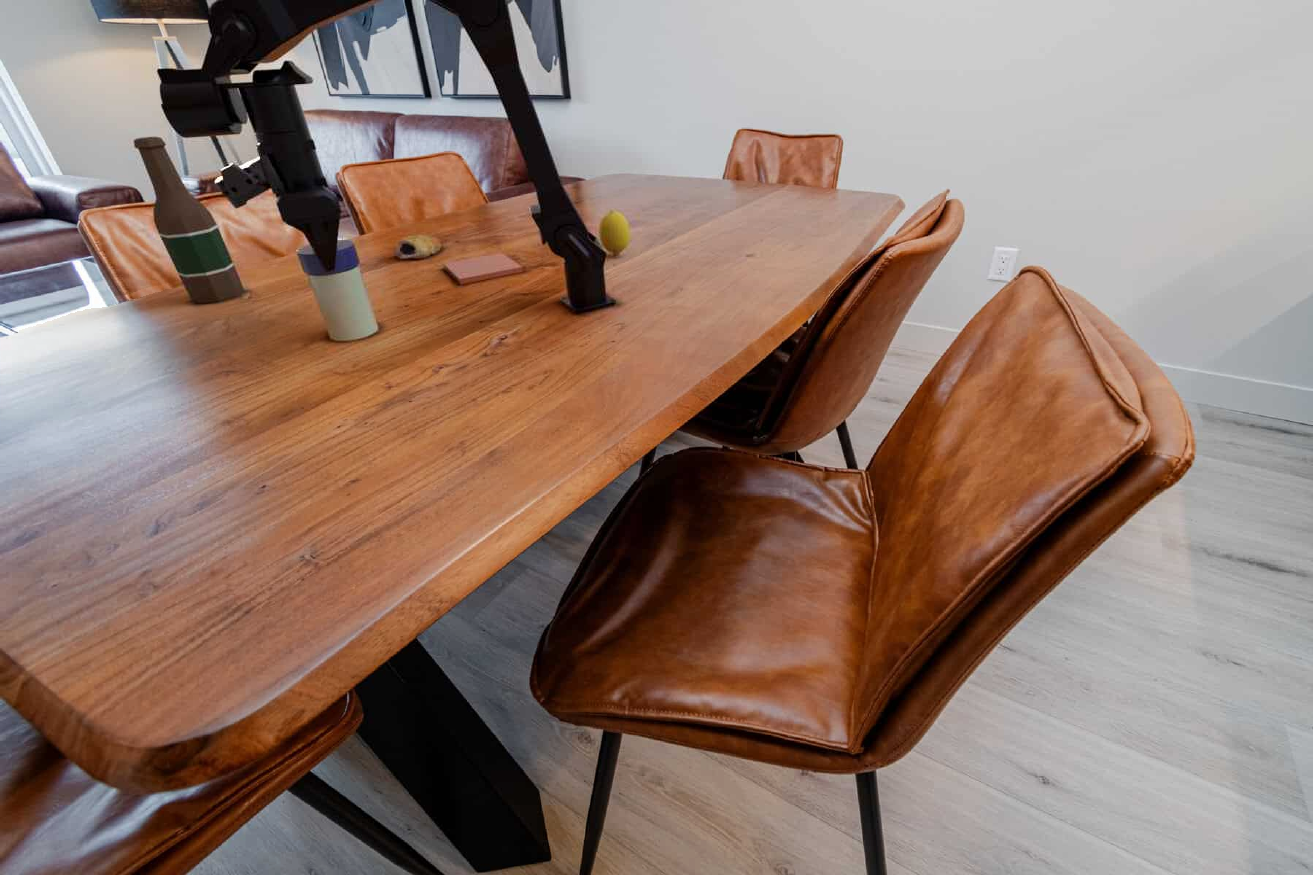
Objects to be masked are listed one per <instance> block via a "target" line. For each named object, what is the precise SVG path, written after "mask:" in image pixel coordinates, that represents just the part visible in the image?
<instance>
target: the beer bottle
mask: <svg viewBox="0 0 1313 875" xmlns="http://www.w3.org/2000/svg"><path fill="white" fill-rule="evenodd" d="M166 145H167V143H165V141H164V140H163V138H162V137H159V136H146V137H138V138H134V139H133V147H134V148H135V149H137V150H138V151H139V152H138V153H139V155H140V156H141V159H142V162H143V164H144V167H145V169H146V172H147V174H148V177H149V179H150V181H151V184H152V187H153V191H154V195H155V202H154V206H153V210H152V213H153V222H154V225H155V227H156V230H157V233H158V235H159V237H160V240H161V241H162V243H163V245H164V248H165V249H166V251H167V254H168V256H169V258H170V259H171V261H172V264H173V266H174V268H175V270H176V273H177V274H178V277H179V278H180V281H181V283H182V284H183V288H184V289H185V290H186V293H187V294H188V296H189V298H190V299H191V300H192V301H193V302H195V303H198V304H201V305H203V304H212V303H220V302H224V301H228V300H231V299H234V298H237V297H239V296H240V295H241V294H242V293H243V292H244V286H243V283H242V280H241V278H240V276H239V274H238V271H237V269H236V266H235V264H234V261H233V259H232V258H231V255H230V252H229V250H228V248H227V245H226V243H225V241H224V239H223V236H222V234H221V231H220V229H219V227H218V224H217V222H216V220H215V218H214V217H213V215H212V213H211V212H210V210H208V208H207V207H206V206H205V205H204V204H203V202H201V201H200V200H198V199H197V198H196V197H194V195H193V194H191V193H190V191H189V190H188V189H187V187H186V186H185V183H184V182H183V180H182V178H181V176H180V174H179V173H178V170H177V169H176V167H175V165H174V163H173V161H172V158H171V156H170V155H169V153H168V151H167V149H166V147H165V146H166Z"/></svg>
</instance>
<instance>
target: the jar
mask: <svg viewBox="0 0 1313 875" xmlns="http://www.w3.org/2000/svg"><path fill="white" fill-rule="evenodd" d="M306 276H307V279H308V282H309V285H310V287H311V290H312V294H313V296H314V298H315V301H316V305H317V307H318V309H319V312H320V315H321V317H322V321H323V323H324V326H325V328H326V331H327V335H328V337H329V339H330V340H332V341H335V342H349V341H350V342H351V341H356V340H360V339H364V338H367V337H369V336H371V335H373V334H374V333H376V332H377V331H378V330H379V324H378V322H377V318H376V316H375V312H374V308H373V306H372V303H371V299H370V296H369V293H368V290H367V287H366V283H365V280H364V277H363V274H362V271H361V268H360V264H359V265H357V266H356V267H354V268H351V269H349V270H345V271H341V272H337V273H331V274H323V275H312V274H306Z"/></svg>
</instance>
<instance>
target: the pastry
mask: <svg viewBox="0 0 1313 875" xmlns="http://www.w3.org/2000/svg"><path fill="white" fill-rule="evenodd" d="M441 242H442V241H441V240H440V239H439V237H437V236H431V235H428V234H426V235H425V234H418V235H417V234H410V235H409V236H406V237H403V238H401V239H399V240H398V241H397V244H396V246H395V250H394V254H395V256H397V258H399V259H400V260H411V259H415V260H417V259H425V258H427V257H429V256H430V255H431V254H433V255H435V254H436V253H437V252H439V251H440V250H441V247H442V245H441V244H442V243H441Z"/></svg>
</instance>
